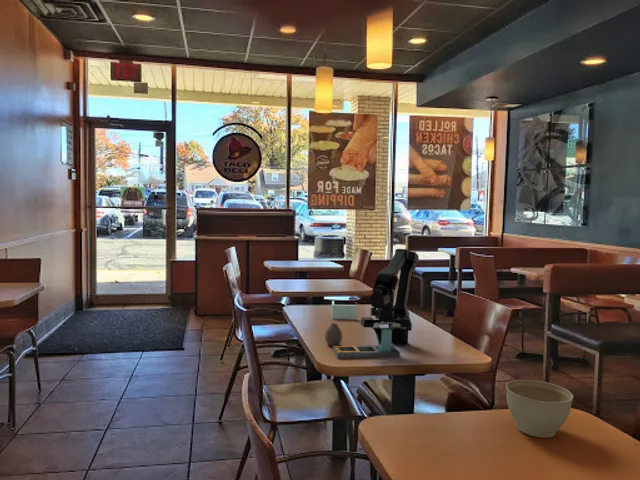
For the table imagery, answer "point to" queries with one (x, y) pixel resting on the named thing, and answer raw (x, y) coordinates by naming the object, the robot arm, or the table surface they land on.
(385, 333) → the peg
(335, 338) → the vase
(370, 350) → the grey slotted tray
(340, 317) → the l-shaped corner panel
